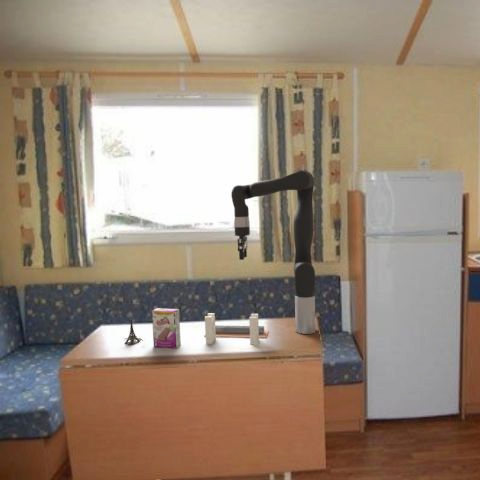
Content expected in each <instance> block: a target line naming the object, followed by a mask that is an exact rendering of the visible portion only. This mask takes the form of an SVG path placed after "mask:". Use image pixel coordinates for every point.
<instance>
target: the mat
mask: <svg viewBox="0 0 480 480" xmlns="http://www.w3.org/2000/svg"><path fill="white" fill-rule="evenodd" d="M268 334H269V329H264V335H263V334H259V339H267V337H268ZM203 336H204V338H206V334H205V335H203ZM216 338H238V339H239V338H243V339H245V338H246V339H248V338H249V339H250V334H216Z"/></svg>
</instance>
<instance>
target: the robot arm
mask: <svg viewBox="0 0 480 480" xmlns="http://www.w3.org/2000/svg"><path fill="white" fill-rule="evenodd" d="M314 186H315V178H314V175H313V174H312V173H311V172H309V171H306V170H297V171H295V172H293V173H290V174H288V175H284V176H281V177H276V178H272V179H266V180H259V181H255V182H253V183H251V184H246V185H244V184H243V185H241V184H240V185H239V184H237V185H234V186H233V187H232V190H231V195H230V197H231V201H232V205H233V208H234V209H233V211H234V220H233V224H234V225H233V226H234V236H235V237H238V238H237V252H239V253H238V254H239V255H238V256H239V257H238V258H239V260H240V261H241V260H245V258H247V257H248V256H247V255H248V254H247V253H248V252H247V251H248V246H249V245H248V237H249V236H250V234H251V231H250V230H251V227H250V226H251V225H250V222H251V221H250V215H249V214H250V213H249V210H250V209H249V206H248V205H247V203H246V200H248V199H252V198H258V197H263V196H268V195H273V194H276V193H278V192H284V191H296V195H297V196H296V206H295V211H294V214H293V215H294V216H293V241H294V242H293V243H294V249H295V250H294V251H295V253H294V254H295V255H294V256H295V257H294V265H293V274H294V313H295V314H294V315H295V317H294V318H295V322H294V323H295V332H296V333H297V332H298V333H297V334H301V333H302V334H303V335H310V334H311V335H312V334H316V304H315V303H316V301H315V300H316V298H315V291H316V271H315V268H314V266H313V263H312V253H311V252H312V250H311V249H312V245H313V238H314V208H313V207H314V205H313V197H314V196H313V195H314V188H315V187H314Z"/></svg>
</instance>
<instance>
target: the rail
mask: <svg viewBox="0 0 480 480" xmlns="http://www.w3.org/2000/svg"><path fill="white" fill-rule="evenodd" d="M264 330H265V326H264V325H262V326H261V325H259V334H263V335H264ZM215 331H216V334H250V325H216V324H215Z"/></svg>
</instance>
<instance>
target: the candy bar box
mask: <svg viewBox="0 0 480 480" xmlns="http://www.w3.org/2000/svg"><path fill="white" fill-rule="evenodd" d="M151 316H152V318H151V320H152V322H151V323H152V337H153V338H152V340H153V341H152V342H153V347H154V348H155V347H156V348H157V347H158V348H168V349H169V348H170V349H176V348H178V347H180V346H181V345H182V344H181V343H182V342H181V330H180V329H181V324H180V323H181V322H180V309H179V308H178V309H177V308H164V307H163V308H162V307H157V308H155V309H153V310H151Z"/></svg>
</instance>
